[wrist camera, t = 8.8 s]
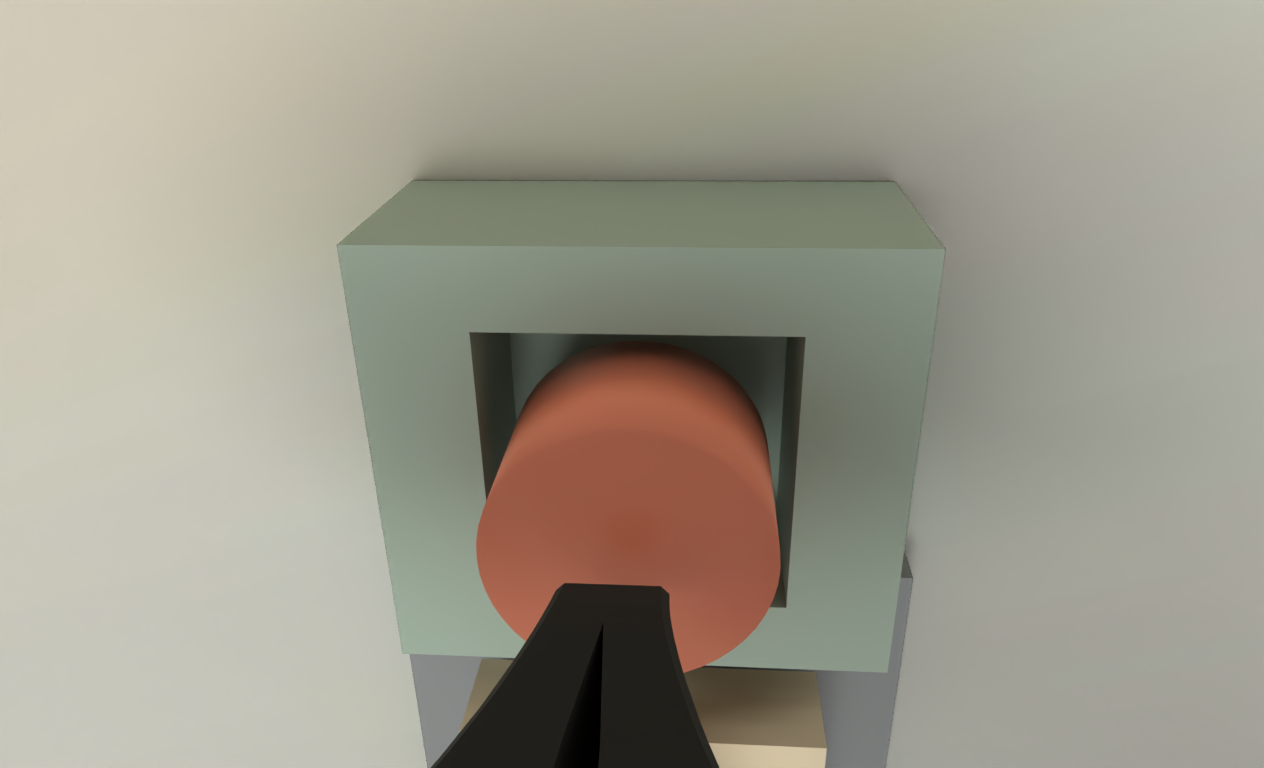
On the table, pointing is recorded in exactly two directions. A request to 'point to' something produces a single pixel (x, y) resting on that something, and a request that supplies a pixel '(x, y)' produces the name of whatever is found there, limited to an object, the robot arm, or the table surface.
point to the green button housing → (661, 312)
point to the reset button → (637, 495)
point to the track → (847, 698)
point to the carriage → (733, 714)
